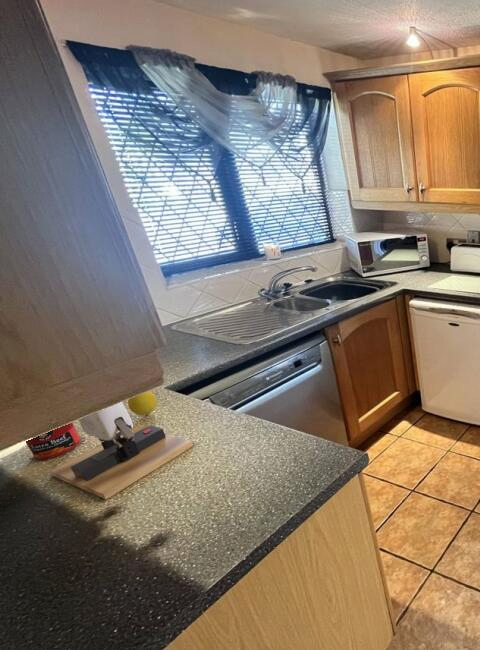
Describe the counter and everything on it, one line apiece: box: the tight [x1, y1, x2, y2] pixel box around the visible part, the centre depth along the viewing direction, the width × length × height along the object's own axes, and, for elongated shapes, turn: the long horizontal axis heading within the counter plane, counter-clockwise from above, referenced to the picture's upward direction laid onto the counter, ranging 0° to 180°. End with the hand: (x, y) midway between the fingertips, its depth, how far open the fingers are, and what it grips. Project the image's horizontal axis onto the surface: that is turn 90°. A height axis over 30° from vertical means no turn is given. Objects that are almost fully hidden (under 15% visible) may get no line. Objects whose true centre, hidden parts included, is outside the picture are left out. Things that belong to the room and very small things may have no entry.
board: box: [49, 424, 194, 500], centre depth 90 cm, size 20×17×2 cm
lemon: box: [127, 390, 158, 416], centre depth 105 cm, size 6×6×8 cm
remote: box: [71, 424, 166, 481], centre depth 89 cm, size 15×5×3 cm, turn 160°
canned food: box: [25, 422, 81, 460], centre depth 92 cm, size 8×8×11 cm
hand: (123, 454), depth 89 cm, fingers closed on remote, 4 cm apart
